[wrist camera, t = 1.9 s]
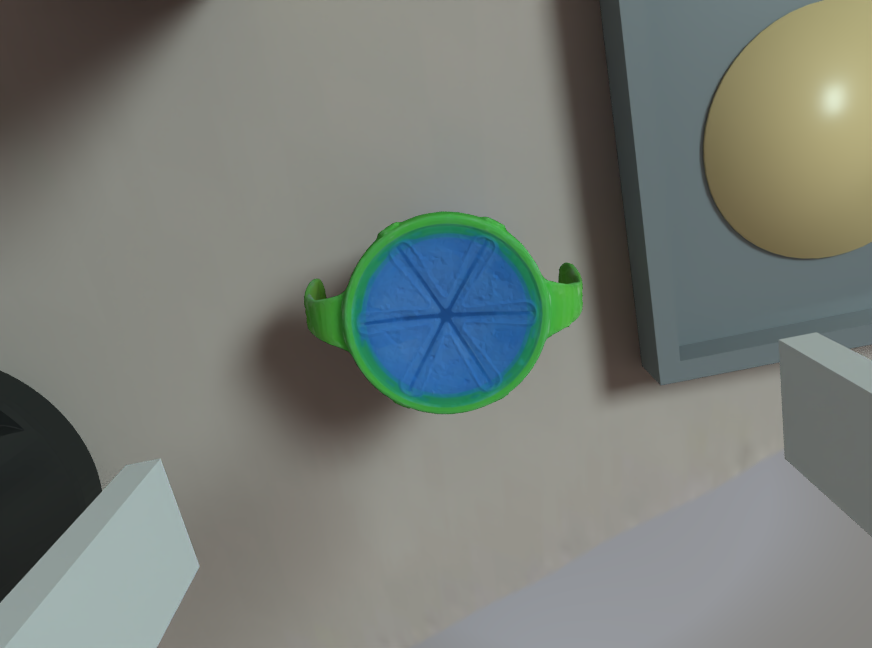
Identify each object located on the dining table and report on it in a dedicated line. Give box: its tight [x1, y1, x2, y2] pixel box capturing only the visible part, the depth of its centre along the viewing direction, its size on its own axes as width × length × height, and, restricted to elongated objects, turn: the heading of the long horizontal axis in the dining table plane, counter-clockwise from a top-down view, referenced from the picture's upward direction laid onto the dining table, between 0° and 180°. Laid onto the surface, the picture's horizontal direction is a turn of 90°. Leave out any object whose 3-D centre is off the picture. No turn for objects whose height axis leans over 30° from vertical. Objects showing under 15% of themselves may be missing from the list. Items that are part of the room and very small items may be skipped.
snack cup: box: [304, 212, 583, 414], centre depth 27 cm, size 11×8×7 cm
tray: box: [600, 0, 872, 385], centre depth 28 cm, size 18×19×3 cm
